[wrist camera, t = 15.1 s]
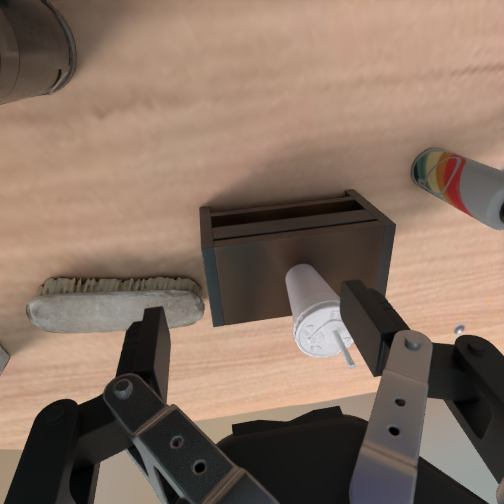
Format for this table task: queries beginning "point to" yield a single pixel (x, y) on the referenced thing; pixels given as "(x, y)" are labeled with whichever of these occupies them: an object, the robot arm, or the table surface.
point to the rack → (290, 252)
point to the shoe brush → (112, 304)
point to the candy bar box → (3, 359)
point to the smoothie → (316, 315)
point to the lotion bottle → (463, 184)
